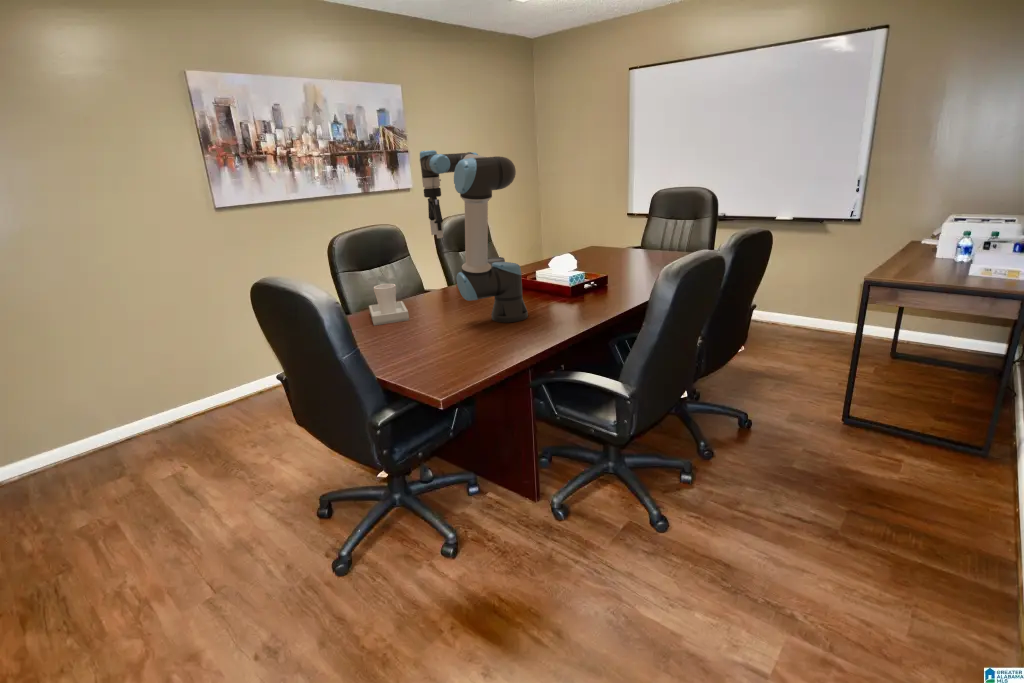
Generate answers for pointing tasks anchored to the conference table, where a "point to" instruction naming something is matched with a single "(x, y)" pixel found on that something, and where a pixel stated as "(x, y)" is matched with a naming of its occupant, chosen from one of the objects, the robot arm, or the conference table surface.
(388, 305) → the foam cup
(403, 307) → the grey tray
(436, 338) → the conference table surface
